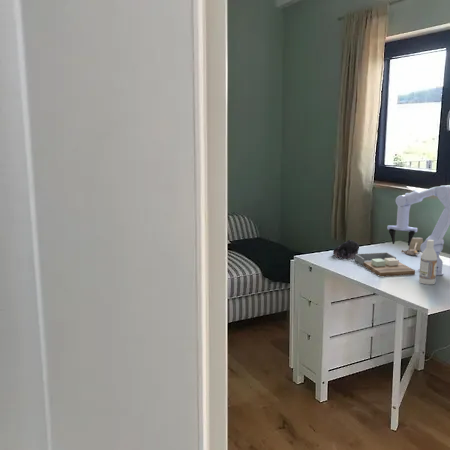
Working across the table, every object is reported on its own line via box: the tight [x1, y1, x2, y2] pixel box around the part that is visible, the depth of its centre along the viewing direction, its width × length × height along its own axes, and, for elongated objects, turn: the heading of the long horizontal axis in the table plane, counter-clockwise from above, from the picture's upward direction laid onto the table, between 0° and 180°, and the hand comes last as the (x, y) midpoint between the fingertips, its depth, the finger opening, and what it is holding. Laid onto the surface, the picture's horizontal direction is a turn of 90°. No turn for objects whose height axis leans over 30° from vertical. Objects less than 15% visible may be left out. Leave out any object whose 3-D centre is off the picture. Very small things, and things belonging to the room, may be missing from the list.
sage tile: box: [371, 259, 386, 267], centre depth 255 cm, size 5×5×2 cm
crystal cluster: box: [332, 239, 360, 260], centre depth 278 cm, size 13×14×10 cm
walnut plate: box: [362, 261, 416, 277], centre depth 253 cm, size 18×18×2 cm
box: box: [354, 251, 397, 266], centre depth 267 cm, size 10×18×4 cm, turn 101°
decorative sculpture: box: [400, 237, 424, 256], centre depth 286 cm, size 16×10×7 cm, turn 150°
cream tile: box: [384, 258, 400, 266], centre depth 256 cm, size 5×5×2 cm
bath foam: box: [418, 240, 437, 286], centre depth 233 cm, size 7×7×20 cm
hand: (401, 244), depth 263 cm, fingers open, 7 cm apart
